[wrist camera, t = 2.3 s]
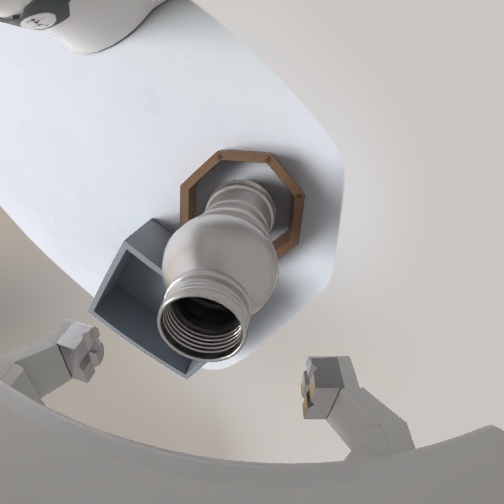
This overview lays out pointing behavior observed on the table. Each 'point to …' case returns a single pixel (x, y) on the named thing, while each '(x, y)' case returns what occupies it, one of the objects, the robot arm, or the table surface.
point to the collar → (189, 185)
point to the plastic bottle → (219, 273)
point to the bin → (140, 297)
